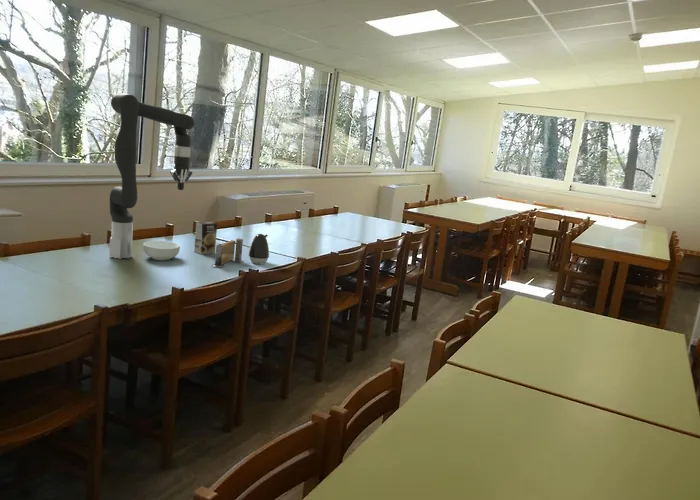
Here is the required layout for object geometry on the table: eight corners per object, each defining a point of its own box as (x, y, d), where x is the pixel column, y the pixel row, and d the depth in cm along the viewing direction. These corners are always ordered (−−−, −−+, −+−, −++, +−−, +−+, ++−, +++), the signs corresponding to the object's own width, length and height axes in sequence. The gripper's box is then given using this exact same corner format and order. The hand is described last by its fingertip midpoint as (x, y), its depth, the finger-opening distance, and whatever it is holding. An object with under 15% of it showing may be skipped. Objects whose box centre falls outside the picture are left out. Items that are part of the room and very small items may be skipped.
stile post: (239, 263, 270) (241, 240, 267) (231, 262, 271) (233, 238, 269) (243, 262, 274) (245, 239, 272) (236, 260, 275) (237, 237, 273)
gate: (217, 264, 262) (218, 245, 260) (230, 258, 276) (231, 240, 274) (221, 265, 262) (222, 245, 259) (234, 259, 275) (235, 240, 273)
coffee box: (201, 254, 278) (203, 224, 275) (193, 251, 282) (195, 221, 279) (215, 252, 286) (217, 223, 282) (208, 250, 289) (209, 220, 286)
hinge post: (219, 268, 257) (221, 246, 255) (210, 266, 258) (211, 244, 256) (224, 266, 262) (226, 244, 260) (215, 264, 263) (217, 242, 261)
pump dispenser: (272, 263, 278) (275, 234, 275) (259, 266, 269) (261, 236, 266) (257, 259, 283) (259, 230, 280) (244, 262, 274) (246, 232, 271)
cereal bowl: (167, 264, 253) (168, 250, 251) (135, 259, 256) (136, 244, 254) (185, 257, 269) (186, 243, 268) (155, 252, 272) (156, 238, 271)
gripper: (187, 154, 277) (185, 188, 281) (166, 154, 266) (165, 189, 270) (197, 156, 273) (195, 190, 277) (177, 156, 262) (175, 191, 266)
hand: (180, 189), depth 273 cm, fingers closed
